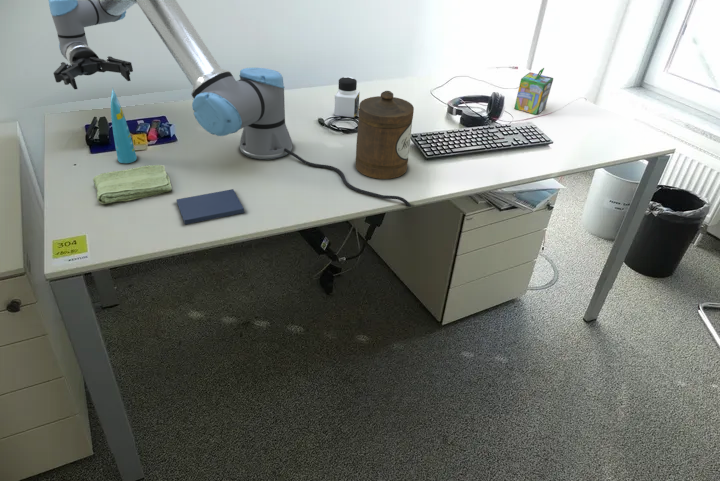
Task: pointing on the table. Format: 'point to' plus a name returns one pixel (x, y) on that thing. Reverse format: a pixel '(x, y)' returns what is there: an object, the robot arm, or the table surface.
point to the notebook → (209, 206)
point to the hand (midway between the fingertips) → (102, 80)
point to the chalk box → (533, 93)
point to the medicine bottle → (347, 98)
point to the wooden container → (383, 136)
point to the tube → (121, 133)
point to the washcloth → (131, 184)
